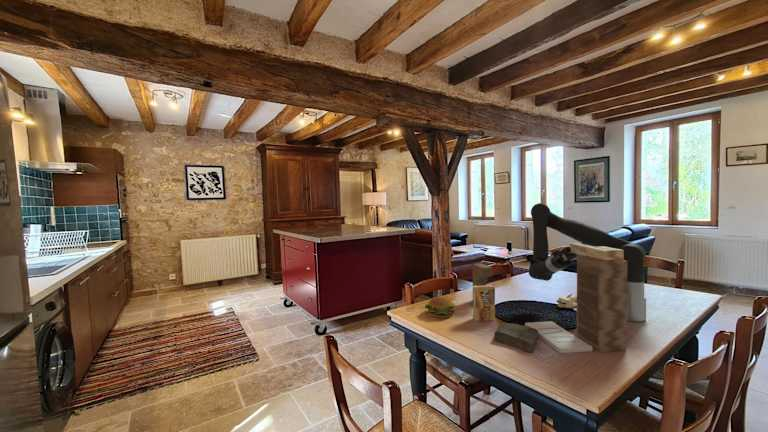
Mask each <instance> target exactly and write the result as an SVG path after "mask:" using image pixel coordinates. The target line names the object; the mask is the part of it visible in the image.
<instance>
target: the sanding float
mask: <svg viewBox="0 0 768 432" xmlns="http://www.w3.org/2000/svg"><path fill="white" fill-rule="evenodd" d="M569 246H570V248H571V253H575V254H576V255H578V254H579V255H583V256H586V258H590V259H594V260H598V261H602V262H621V261H623V259H624V250H621V249H615V248H610V247H605V246H600V247H594V246H589V245H586V244H583V243H580V242H579V243H576V242H575V243H573V242H572V243H569Z"/></svg>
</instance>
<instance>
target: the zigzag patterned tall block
mask: <svg viewBox="0 0 768 432" xmlns="http://www.w3.org/2000/svg"><path fill="white" fill-rule="evenodd" d="M576 296H577V303H576V337H577V338H579V339H581V340H582V341H584V342H585V343H587V344H588V345H590V346H592V349H594V350H596V351H597V352H599V353H605V352H606V353H607V352H608V353H609V352H619V351H622V352H623V351H627V340H628V338H627V336H628V332H627V331H628V329H627V327H628V326H627V325H628V323H627V322H628V321H627V261H624V260H623V261H621V262H602V261H598V260H594V259H590V258H586V256H577V259H576Z"/></svg>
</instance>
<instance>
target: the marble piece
mask: <svg viewBox="0 0 768 432" xmlns="http://www.w3.org/2000/svg"><path fill="white" fill-rule="evenodd" d="M493 334H494V335H493V336H494V337H493V338H494V339H495V340H496V341H497V342H498V343H501V344H503V345H506V346H508V347H513V348H515V349H518V350H520V351H523V352H526V353H527V352H528V353H530V354H532V353H534V351H535V348H536V345H537V344H536V343H537V340H538V336H537V335H538V330H537V329H534V328H530V327H527V326H525V325H523V324H522V325H521V324H518V323H509V322H500V323H499V325H498V326H497V328H496V329H495V331H494V333H493Z"/></svg>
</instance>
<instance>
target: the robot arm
mask: <svg viewBox="0 0 768 432" xmlns="http://www.w3.org/2000/svg"><path fill="white" fill-rule="evenodd" d="M530 215H531V218H532V219H531V220H532V227H533V237H532V239H533V241H532V242H533V243H532V259H533V260H534V261H536V262H535V263H533V264H531V266H529V269H528V275H529V276H530V278H532V279H534V280H539V281H540V280H541V281H546V282H547V281H550V280H551V279H552V278H553V275H554V274H556V273H558V272H561V271H563V270H564V269H566V268H568V267H570V266H572V263H573V261H574V260H577V256H583V255H579V254H575V253H571V248H570V245H569V246H566V247H565V248H561V249H560V250H559V249H555V250H554V251H553V252H552V253H550V254H549V239H548V228H550V229H552V230H555V231H557V232H559V233H561V234H562V235H565V236H567V237H569V238H570V239H573V240H575V241H576V242H579V243H580V244H584V245H589V246H594V247H600V246H605V247H610V248H615V249H621V250H624V259H623V260H624V261H627V322H635V323H640V322H643V321H646V320H647V298H646V297H645V273H644V260H645V259H646V257H647V252H646V250H645V248H643V246H642V245H641V244H640V245H639V244H637V243H634V242H631V241H628V240H626V239H622V238H618V237H616V236H614V235H611V234H609V233H607V232H605V231H603V230H601V229H599V228H596V227H595V226H593V225H590V224H587V223H585V222H583V221H580V220H575V219H570V218H564V217H561V216H559V215H557V214H555V213H553V212H551V209H550V207H549V205H547V204H545V203H543V202H541V203H539V202H538V203H535V204H534V205H533V206H532V207H531V210H530Z"/></svg>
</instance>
